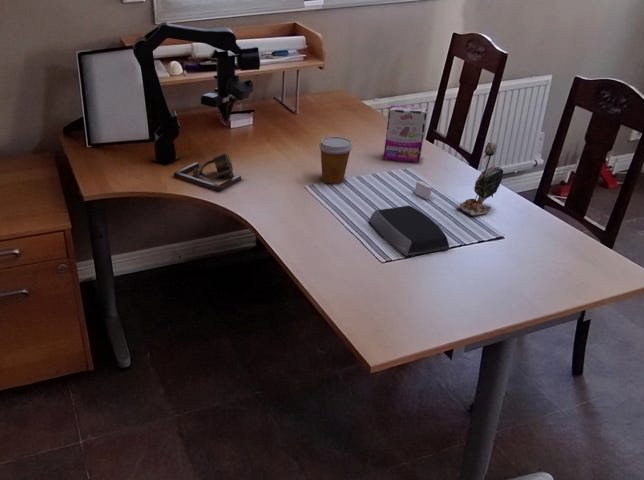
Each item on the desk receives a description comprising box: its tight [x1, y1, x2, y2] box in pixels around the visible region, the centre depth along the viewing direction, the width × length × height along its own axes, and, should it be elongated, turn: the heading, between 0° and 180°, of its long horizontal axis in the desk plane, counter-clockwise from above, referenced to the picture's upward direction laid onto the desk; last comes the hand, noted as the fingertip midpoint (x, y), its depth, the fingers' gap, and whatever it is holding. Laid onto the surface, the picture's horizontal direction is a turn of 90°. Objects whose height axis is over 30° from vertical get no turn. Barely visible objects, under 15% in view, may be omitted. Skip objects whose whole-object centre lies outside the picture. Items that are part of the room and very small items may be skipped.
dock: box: [173, 161, 242, 193], centre depth 194 cm, size 18×10×2 cm, turn 48°
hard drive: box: [368, 205, 450, 257], centre depth 158 cm, size 13×19×4 cm
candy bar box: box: [383, 105, 429, 164], centre depth 197 cm, size 11×5×16 cm, turn 68°
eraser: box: [414, 180, 433, 201], centre depth 177 cm, size 1×5×4 cm, turn 25°
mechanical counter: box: [192, 152, 235, 179], centre depth 194 cm, size 7×13×10 cm
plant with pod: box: [456, 141, 504, 216], centre depth 165 cm, size 8×11×20 cm
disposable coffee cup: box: [318, 136, 353, 185], centre depth 187 cm, size 10×10×12 cm
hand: (226, 120), depth 203 cm, fingers closed
